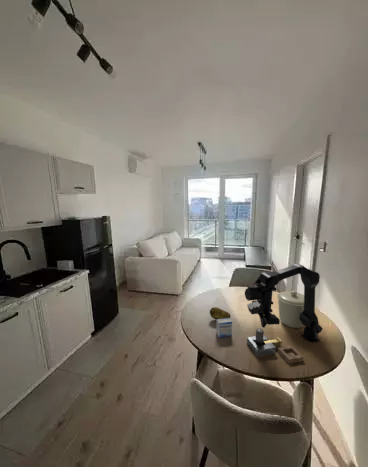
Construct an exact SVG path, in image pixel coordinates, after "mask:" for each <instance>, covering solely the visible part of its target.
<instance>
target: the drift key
mask: <svg viewBox="0 0 368 467" xmlns="http://www.w3.org/2000/svg"><path fill="white" fill-rule="evenodd" d="M266 343H272V344H273V345H274V346H275V347H276V348H281V347H283V340H282V339H281V338H280V337H278V336H276V337H275V339H268V341H263V345H265V344H266Z"/></svg>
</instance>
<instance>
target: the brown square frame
mask: <svg viewBox="0 0 368 467" xmlns="http://www.w3.org/2000/svg"><path fill="white" fill-rule="evenodd" d="M277 352H278V354H279V355H280V356H281V357H282V359H284V360H285V362H286V363H287V364H293V363H297V362H303V361H304V355H302V354H301V353H300V352H299V351H298V350H297V349H296V348H295V347H294V346H293V345H288V346H282V347H277Z"/></svg>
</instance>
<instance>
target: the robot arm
mask: <svg viewBox="0 0 368 467" xmlns="http://www.w3.org/2000/svg"><path fill="white" fill-rule="evenodd" d="M296 275H299V276H300V280H301V282H302V284H303V295H304V311H303V312H302V313H300V314H299V315H300V318H299V319H300V321H301V322H302V325H303V326H304V328H303V334H301V335H300V336H301V337H302V338H304V339H305V340H306V341H307V342H308V341H309V342H308V343H310V342H312V343H316V341H318V342H320V341H321V340H320V338H319V337H318V336H319V334H321V333H322V331H323V329H324V328H323V327H322V326H321V325H320V324H319V318H318V316H317V313H316V311H315V310H316V309H315V308H316V307H315V306H316V305H315V304H316V287H317V286H318V285H319V283H320V278H321V277H320V273H319V272H317V271H314V270H312V269H309V268H307V267H305V266H304V265H303V264H300V263H294V264H292V265H290V266H287V267H283V268H281V269H279V270H275V271H264V272H263V271H262V272H261V273H260V275H259V277H258V278H257V280H255V282H254V283H253V285H248V286H247V288H246V289H245V290H244V297H245V299H246V301H249V302H250V301H251V302H250V303H248V304H247V305H246V307H247V309H248V312H250V314H251V315H258V316H259V319H260V320H259V321H260V323H261V324H260V325H261V327H262V329H263V328H266V326H267V325H268V326H269V325H270V326H271V325H280V324H281V320H280V318H279V317H278V316H277V315H276V314H274V313H273V309H272V305H274V301H273V291H277V290H278V289H277V288H276V286H277V285H278V284H280V282H281V281H283V280H286V279H288V278H291V277H294V276H296Z"/></svg>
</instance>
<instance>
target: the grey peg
mask: <svg viewBox="0 0 368 467" xmlns="http://www.w3.org/2000/svg"><path fill="white" fill-rule="evenodd" d="M264 333H265V332H264V330H263V328H259V327H258V328H257V329H256V330H255V336H256V343H255V344H256V345H257V346H263V335H265V334H264Z"/></svg>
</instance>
